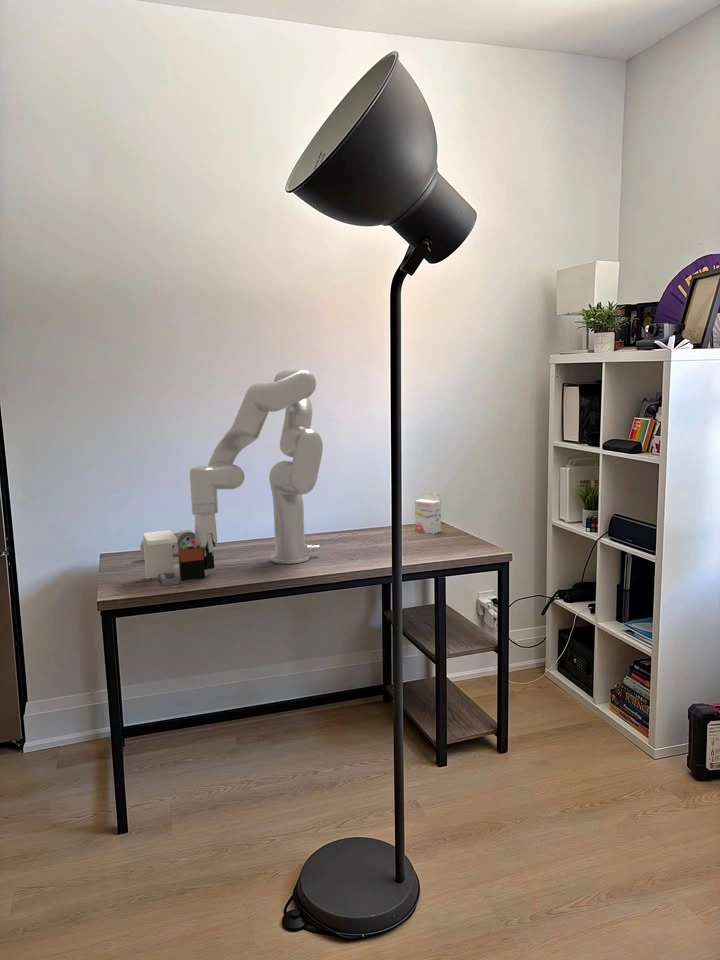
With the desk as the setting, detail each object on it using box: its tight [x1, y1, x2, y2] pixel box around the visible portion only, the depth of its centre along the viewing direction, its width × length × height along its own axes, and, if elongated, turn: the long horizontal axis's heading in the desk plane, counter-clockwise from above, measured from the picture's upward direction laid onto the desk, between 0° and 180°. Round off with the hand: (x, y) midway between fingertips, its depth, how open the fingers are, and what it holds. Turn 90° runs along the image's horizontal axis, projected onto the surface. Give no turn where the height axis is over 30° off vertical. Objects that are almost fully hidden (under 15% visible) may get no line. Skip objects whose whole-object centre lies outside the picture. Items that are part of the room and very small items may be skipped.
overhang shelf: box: [142, 529, 180, 586], centre depth 213 cm, size 8×12×14 cm, turn 23°
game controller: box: [140, 529, 196, 558], centre depth 243 cm, size 20×2×8 cm, turn 122°
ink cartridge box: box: [414, 490, 442, 535], centre depth 268 cm, size 9×5×15 cm, turn 52°
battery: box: [177, 544, 206, 582], centre depth 217 cm, size 4×7×10 cm, turn 112°
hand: (208, 568), depth 219 cm, fingers closed
